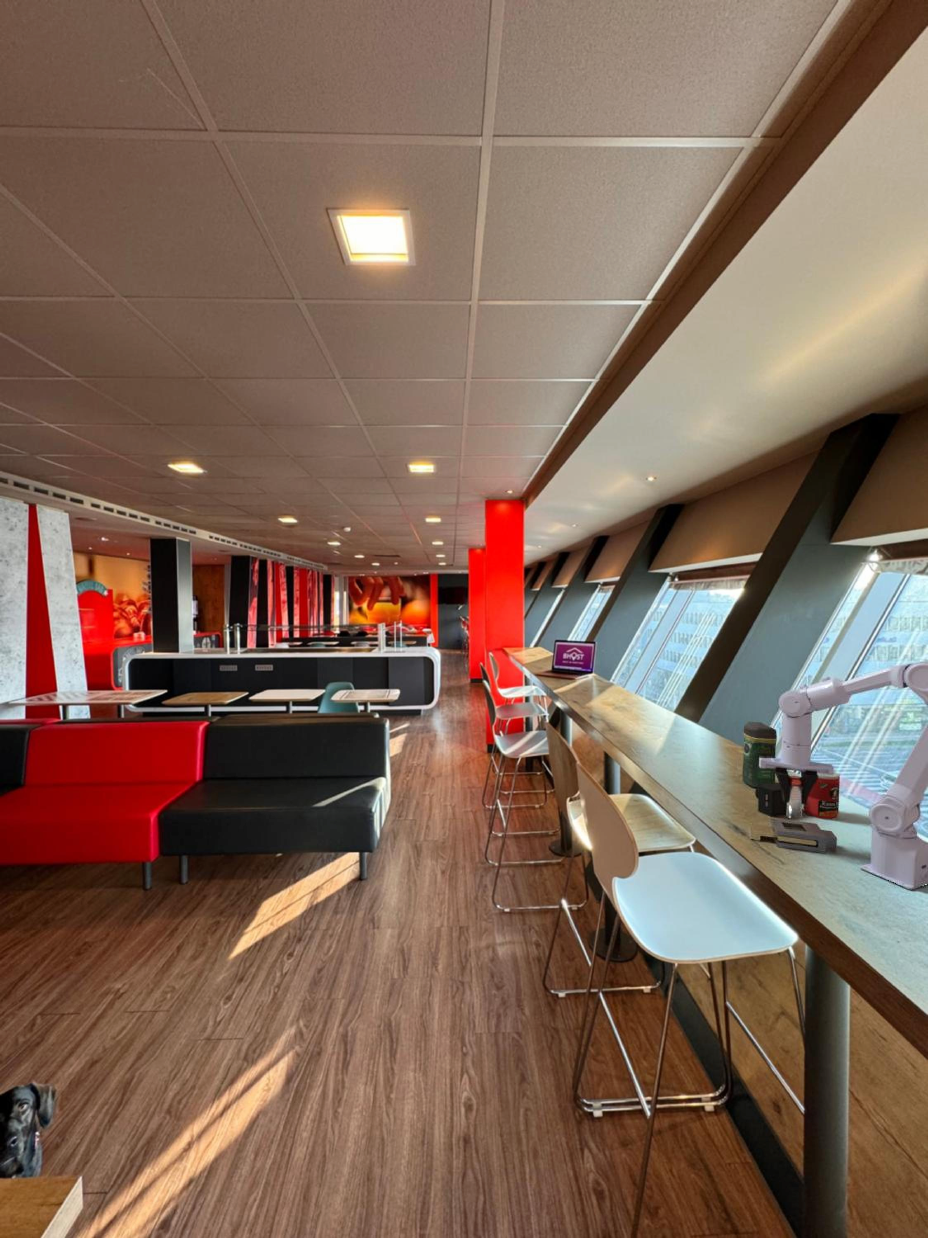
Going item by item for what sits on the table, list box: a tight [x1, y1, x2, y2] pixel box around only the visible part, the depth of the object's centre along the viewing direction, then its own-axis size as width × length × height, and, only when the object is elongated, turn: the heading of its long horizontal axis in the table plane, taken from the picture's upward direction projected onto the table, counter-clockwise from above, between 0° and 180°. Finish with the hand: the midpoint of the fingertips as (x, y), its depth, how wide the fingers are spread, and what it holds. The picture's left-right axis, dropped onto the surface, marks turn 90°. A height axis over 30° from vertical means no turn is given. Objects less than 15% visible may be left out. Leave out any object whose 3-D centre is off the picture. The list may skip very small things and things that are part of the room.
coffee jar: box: [741, 721, 778, 788], centre depth 169 cm, size 10×8×19 cm
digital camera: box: [754, 782, 787, 818], centre depth 148 cm, size 10×5×7 cm, turn 110°
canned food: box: [802, 771, 841, 820], centre depth 146 cm, size 8×8×11 cm
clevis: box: [747, 817, 838, 854], centre depth 128 cm, size 17×8×4 cm, turn 71°
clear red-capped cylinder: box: [785, 775, 803, 820], centre depth 128 cm, size 3×3×9 cm
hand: (794, 802), depth 128 cm, fingers closed on clear red-capped cylinder, 3 cm apart
